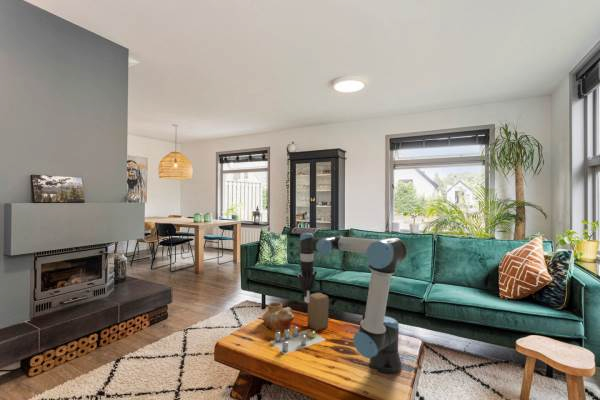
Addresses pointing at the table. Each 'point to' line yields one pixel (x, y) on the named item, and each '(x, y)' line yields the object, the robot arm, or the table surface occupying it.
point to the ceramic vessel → (278, 317)
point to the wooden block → (318, 311)
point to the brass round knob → (311, 333)
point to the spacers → (287, 337)
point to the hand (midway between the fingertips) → (307, 301)
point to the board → (297, 342)
